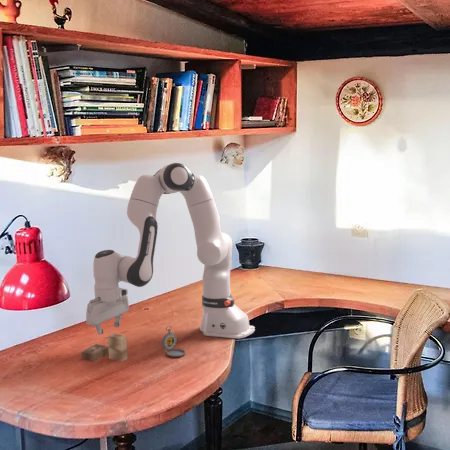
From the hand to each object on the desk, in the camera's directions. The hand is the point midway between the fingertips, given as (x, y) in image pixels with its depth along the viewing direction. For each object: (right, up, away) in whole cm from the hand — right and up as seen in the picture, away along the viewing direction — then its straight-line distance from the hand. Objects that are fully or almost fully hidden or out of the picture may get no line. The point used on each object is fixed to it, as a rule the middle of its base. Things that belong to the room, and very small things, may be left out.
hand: (108, 330), depth 231 cm
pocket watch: (+25, -8, -5) cm, 27 cm away
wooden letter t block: (+5, -9, -8) cm, 13 cm away
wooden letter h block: (-2, -7, -2) cm, 7 cm away
